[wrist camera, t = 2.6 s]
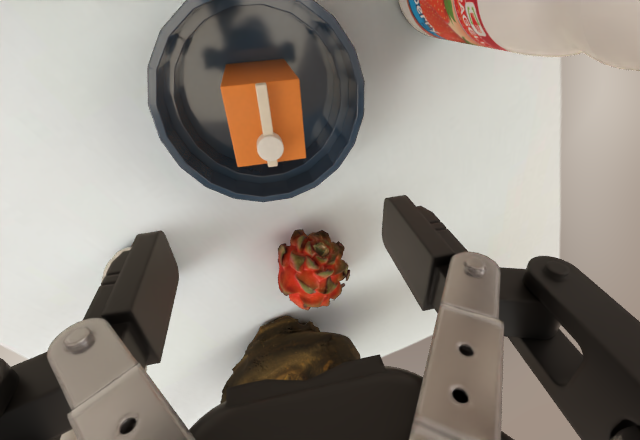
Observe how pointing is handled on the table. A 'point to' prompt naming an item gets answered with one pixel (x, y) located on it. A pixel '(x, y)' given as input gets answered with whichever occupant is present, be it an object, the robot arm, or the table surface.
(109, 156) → the table surface
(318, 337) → the pottery vessel
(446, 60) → the table surface
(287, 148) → the carton
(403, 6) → the fruit juice
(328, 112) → the bowl
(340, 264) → the dragon fruit
